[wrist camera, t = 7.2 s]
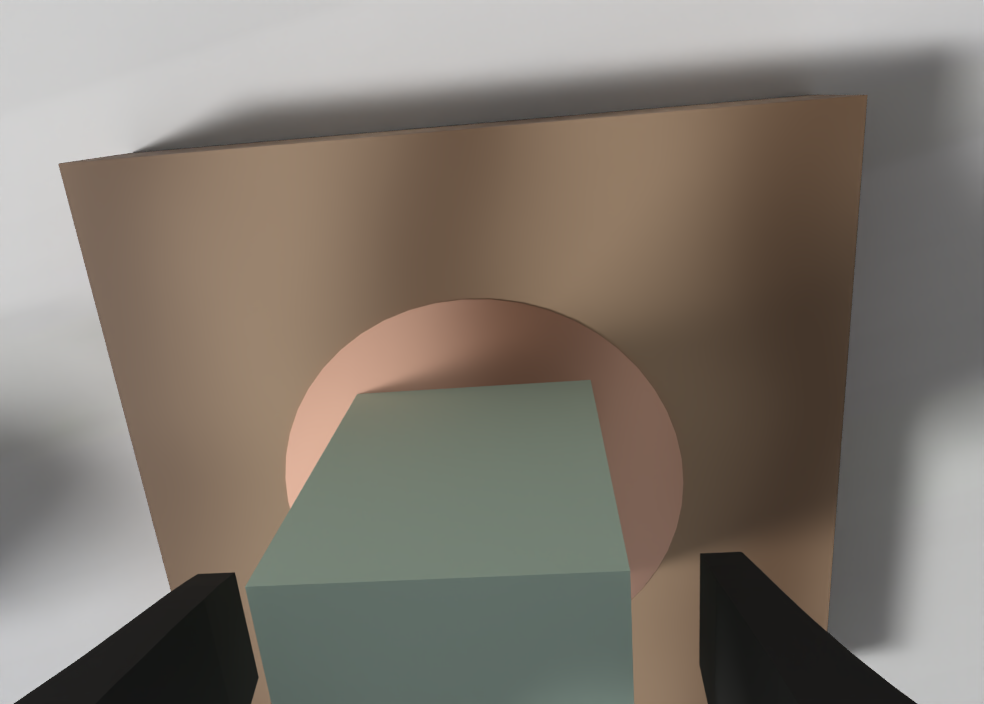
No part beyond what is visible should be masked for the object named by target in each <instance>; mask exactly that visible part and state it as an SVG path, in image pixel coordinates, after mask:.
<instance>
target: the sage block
mask: <svg viewBox="0 0 984 704" xmlns="http://www.w3.org/2000/svg"><path fill="white" fill-rule="evenodd" d="M245 589H246V593H247V598H248V602H249V607H250V611H251V616H252V620H253V624H254V629H255V633H256V638H257V642H258V646H259V651H260V655H261V660H262V664H263V669H264V673H265V677H266V682H267V686H268V691H269V695H270V699H271V704H634V684H633V649H632V615H631V580H630V567H629V563H628V558H627V553H626V548H625V543H624V538H623V534H622V529H621V524H620V519H619V514H618V509H617V505H616V500H615V495H614V490H613V485H612V480H611V476H610V471H609V466H608V461H607V456H606V452H605V447H604V442H603V437H602V432H601V427H600V423H599V418H598V413H597V408H596V403H595V398H594V394H593V389H592V384H591V380H580V381H563V382H546V383H530V384H513V385H497V386H480V387H464V388H447V389H431V390H414V391H397V392H381V393H364V394H357V395H356V397H355V399H354V400H353V402H352V404H351V405H350V407H349V409H348V411H347V412H346V414H345V416H344V417H343V419H342V421H341V423H340V424H339V426H338V428H337V429H336V431H335V433H334V435H333V436H332V438H331V440H330V442H329V443H328V445H327V447H326V448H325V450H324V452H323V454H322V455H321V457H320V459H319V460H318V462H317V464H316V466H315V467H314V469H313V471H312V472H311V474H310V476H309V478H308V479H307V481H306V483H305V484H304V486H303V488H302V490H301V491H300V493H299V495H298V497H297V498H296V500H295V502H294V503H293V505H292V507H291V509H290V510H289V512H288V514H287V515H286V517H285V519H284V521H283V522H282V524H281V526H280V527H279V529H278V531H277V533H276V534H275V536H274V538H273V539H272V541H271V543H270V545H269V546H268V548H267V550H266V552H265V553H264V555H263V557H262V558H261V560H260V562H259V564H258V565H257V567H256V569H255V570H254V572H253V574H252V576H251V577H250V579H249V581H248V582H247V584H246V586H245Z"/></svg>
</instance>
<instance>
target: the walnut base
mask: <svg viewBox="0 0 984 704" xmlns="http://www.w3.org/2000/svg"><path fill="white" fill-rule="evenodd" d="M866 107H867V95H805V96H793V97H781V98H769V99H758V100H746V101H734V102H723V103H711V104H699V105H688V106H676V107H664V108H652V109H641V110H629V111H617V112H606V113H594V114H582V115H571V116H559V117H547V118H536V119H524V120H512V121H500V122H489V123H477V124H465V125H454V126H442V127H430V128H419V129H407V130H395V131H384V132H372V133H360V134H348V135H337V136H325V137H313V138H302V139H290V140H278V141H267V142H255V143H243V144H231V145H220V146H208V147H196V148H185V149H173V150H161V151H150V152H138V153H128V154H121V155H114V156H107V157H100V158H94V159H87V160H80V161H73V162H66V163H60V164H59V168H60V172H61V176H62V179H63V183H64V187H65V191H66V195H67V198H68V202H69V206H70V210H71V213H72V217H73V221H74V225H75V229H76V232H77V236H78V240H79V244H80V248H81V251H82V255H83V259H84V263H85V267H86V270H87V274H88V278H89V282H90V286H91V289H92V293H93V297H94V301H95V305H96V308H97V312H98V316H99V320H100V323H101V327H102V331H103V335H104V339H105V342H106V346H107V350H108V354H109V358H110V361H111V365H112V369H113V373H114V377H115V380H116V384H117V388H118V392H119V396H120V399H121V403H122V407H123V411H124V415H125V418H126V422H127V426H128V430H129V433H130V437H131V441H132V445H133V449H134V452H135V456H136V460H137V464H138V468H139V471H140V475H141V479H142V483H143V487H144V490H145V494H146V498H147V502H148V506H149V509H150V513H151V517H152V521H153V525H154V528H155V532H156V536H157V540H158V543H159V547H160V551H161V555H162V559H163V562H164V566H165V570H166V574H167V578H168V581H169V585H170V589H171V591H173V590H174V589H175V588H177V587H178V586H180V585H181V584H183V583H184V582H186V581H187V580H189V579H190V578H192V577H194V576H195V575H197V574H207V573H232V572H235V575H236V579H237V584H238V588H239V592H240V597H241V601H242V606H243V610H244V614H245V619H246V623H247V628H248V632H249V637H250V641H251V645H252V650H253V654H254V659H255V663H256V667H257V672H258V676H259V679H258V682H257V685H256V689H255V692H254V696H253V699H252V702H251V704H271V699H270V695H269V691H268V686H267V682H266V677H265V673H264V669H263V664H262V660H261V655H260V651H259V646H258V642H257V638H256V633H255V629H254V624H253V620H252V616H251V611H250V607H249V602H248V598H247V593H246V589H245V586H246V584H247V582H248V581H249V579H250V577H251V576H252V574H253V572H254V570H255V569H256V567H257V565H258V564H259V562H260V560H261V558H262V557H263V555H264V553H265V552H266V550H267V548H268V546H269V545H270V543H271V541H272V539H273V538H274V536H275V534H276V533H277V531H278V529H279V527H280V526H281V524H282V522H283V521H284V519H285V517H286V515H287V514H288V512H289V510H290V509H291V507H292V505H293V503H294V502H295V500H296V498H297V497H298V495H299V493H300V491H301V490H302V488H303V486H304V484H305V483H306V481H307V479H308V478H309V476H310V474H311V472H312V471H313V469H314V467H315V466H316V464H317V462H318V460H319V459H320V457H321V455H322V454H323V452H324V450H325V448H326V447H327V445H328V443H329V442H330V440H331V438H332V436H333V435H334V433H335V431H336V429H337V428H338V426H339V424H340V423H341V421H342V419H343V417H344V416H345V414H346V412H347V411H348V409H349V407H350V405H351V404H352V402H353V400H354V399H355V397H356V395H357V394H364V393H381V392H397V391H414V390H431V389H447V388H464V387H480V386H497V385H513V384H530V383H546V382H563V381H580V380H591V384H592V389H593V394H594V398H595V403H596V408H597V413H598V418H599V423H600V427H601V432H602V437H603V442H604V447H605V452H606V456H607V461H608V466H609V471H610V476H611V480H612V485H613V490H614V495H615V500H616V505H617V509H618V514H619V519H620V524H621V529H622V534H623V538H624V543H625V548H626V553H627V558H628V563H629V567H630V580H631V615H632V649H633V684H634V704H708V703H707V698H706V693H705V689H704V684H703V680H702V675H701V670H700V666H699V628H700V553H721V552H742V553H744V554H745V555H746V556H747V557H748V558H749V559H750V560H751V561H752V562H753V563H754V564H755V565H756V566H757V567H758V568H759V569H761V570H762V571H763V572H764V573H765V574H766V575H767V576H768V577H769V578H770V579H771V580H772V581H773V582H774V583H775V584H776V585H777V586H778V587H779V588H780V589H781V590H782V591H783V592H784V593H785V594H786V595H788V596H789V597H790V598H791V599H792V600H793V601H794V602H795V603H796V604H797V605H798V606H799V607H800V608H801V609H802V610H803V611H805V612H806V613H807V614H808V615H809V616H810V617H811V618H812V619H813V620H814V621H815V622H817V623H818V624H819V625H820V626H821V627H822V628H823V629H825V630H826V631H827V627H828V614H829V600H830V587H831V574H832V560H833V547H834V534H835V520H836V507H837V494H838V480H839V467H840V453H841V440H842V427H843V413H844V400H845V387H846V373H847V360H848V347H849V333H850V320H851V307H852V293H853V280H854V267H855V253H856V240H857V227H858V213H859V200H860V187H861V173H862V160H863V147H864V133H865V120H866Z"/></svg>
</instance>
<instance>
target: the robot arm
mask: <svg viewBox="0 0 984 704" xmlns="http://www.w3.org/2000/svg"><path fill="white" fill-rule="evenodd" d="M699 666H700V670H701V675H702V680H703V684H704V689H705V693H706V698H707V703H708V704H917V703H915V702H914V701H913V700H911V699H910V698H909V697H907V696H906V695H905V694H903V693H902V692H900V691H899V690H898V689H896V688H895V687H894V686H892V685H891V684H890V683H889V682H887V681H886V680H885V679H884V678H882V677H881V676H880V675H879V674H877V673H876V672H875V671H873V670H872V669H871V668H870V667H868V666H867V665H866V664H865V663H863V662H862V661H861V660H860V659H858V658H857V657H856V656H855V655H853V654H852V653H851V652H850V651H849V650H847V649H846V648H845V647H844V646H843V645H842V644H840V643H839V642H838V641H837V640H836V639H835V638H834V637H833V636H831V635H830V634H829V633H828V632H827V631H826V630H825V629H823V628H822V627H821V626H820V625H819V624H818V623H817V622H815V621H814V620H813V619H812V618H811V617H810V616H809V615H808V614H807V613H806V612H805V611H803V610H802V609H801V608H800V607H799V606H798V605H797V604H796V603H795V602H794V601H793V600H792V599H791V598H790V597H789V596H788V595H786V594H785V593H784V592H783V591H782V590H781V589H780V588H779V587H778V586H777V585H776V584H775V583H774V582H773V581H772V580H771V579H770V578H769V577H768V576H767V575H766V574H765V573H764V572H763V571H762V570H761V569H759V568H758V567H757V566H756V565H755V564H754V563H753V562H752V561H751V560H750V559H749V558H748V557H747V556H746V555H745V554H744V553H742V552H721V553H700V628H699ZM258 679H259V676H258V672H257V667H256V663H255V659H254V654H253V650H252V645H251V641H250V637H249V632H248V628H247V623H246V619H245V614H244V610H243V606H242V601H241V597H240V592H239V588H238V584H237V579H236V575H235V572H232V573H207V574H197V575H195V576H194V577H192V578H190V579H189V580H187V581H186V582H184V583H183V584H181V585H180V586H178V587H177V588H175V589H174V590H173V591H171V592H170V593H168V594H167V595H166V596H164V597H163V598H161V599H160V600H159V601H157V602H156V603H155V604H153V605H152V606H151V607H149V608H148V609H146V610H145V611H144V612H142V613H141V614H140V615H138V616H137V617H136V618H134V619H133V620H132V621H130V622H129V623H128V624H126V625H125V626H123V627H122V628H121V629H119V630H118V631H117V632H115V633H114V634H113V635H111V636H110V637H108V638H107V639H106V640H104V641H103V642H102V643H100V644H99V645H98V646H96V647H95V648H93V649H92V650H91V651H89V652H88V653H87V654H85V655H84V656H83V657H81V658H80V659H78V660H77V661H75V662H74V663H72V664H71V665H70V666H68V667H67V668H65V669H64V670H62V671H61V672H59V673H58V674H56V675H55V676H54V677H52V678H51V679H49V680H48V681H46V682H45V683H43V684H42V685H40V686H39V687H37V688H36V689H35V690H33V691H32V692H30V693H29V694H27V695H26V696H24V697H23V698H21V699H20V700H18V701H17V702H16V703H14V704H251V702H252V699H253V696H254V692H255V689H256V685H257V682H258Z"/></svg>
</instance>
